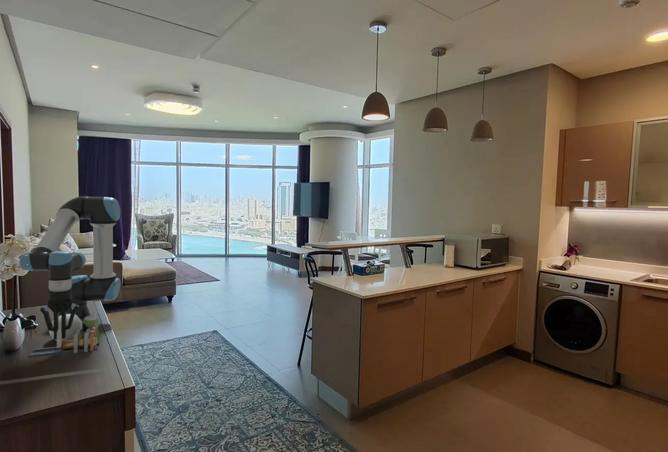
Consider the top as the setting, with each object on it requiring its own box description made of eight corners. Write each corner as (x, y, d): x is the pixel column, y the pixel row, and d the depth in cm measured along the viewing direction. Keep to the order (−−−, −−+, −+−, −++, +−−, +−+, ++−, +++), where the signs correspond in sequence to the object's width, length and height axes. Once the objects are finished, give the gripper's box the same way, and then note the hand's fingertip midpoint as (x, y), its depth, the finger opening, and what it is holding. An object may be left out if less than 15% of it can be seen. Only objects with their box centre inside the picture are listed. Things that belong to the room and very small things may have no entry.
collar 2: (87, 344, 161) (87, 328, 161) (90, 344, 162) (90, 327, 161) (84, 352, 153) (84, 334, 153) (87, 351, 153) (87, 334, 153)
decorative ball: (86, 340, 168) (87, 314, 167) (54, 348, 158) (55, 320, 157) (76, 334, 175) (76, 309, 174) (44, 341, 165) (45, 314, 164)
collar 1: (77, 345, 159) (77, 328, 159) (81, 345, 160) (81, 328, 160) (73, 353, 151) (74, 335, 151) (77, 352, 152) (77, 335, 152)
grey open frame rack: (34, 352, 153) (34, 348, 153) (99, 345, 163) (100, 341, 163) (27, 360, 145) (27, 356, 145) (97, 353, 155) (97, 348, 155)
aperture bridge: (93, 344, 161) (93, 326, 161) (95, 344, 162) (96, 326, 162) (90, 351, 154) (90, 332, 154) (93, 350, 155) (93, 332, 154)
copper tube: (60, 350, 151) (61, 340, 153) (62, 350, 155) (63, 340, 156) (95, 346, 157) (96, 336, 158) (96, 347, 160) (97, 337, 161)
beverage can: (96, 339, 170) (97, 313, 170) (100, 343, 165) (101, 317, 164) (80, 342, 166) (80, 315, 165) (84, 347, 161) (84, 319, 160)
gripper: (37, 292, 145) (37, 351, 147) (77, 290, 151) (77, 347, 152) (42, 288, 152) (42, 345, 153) (81, 286, 158) (80, 341, 159)
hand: (59, 346), depth 153 cm, fingers closed
